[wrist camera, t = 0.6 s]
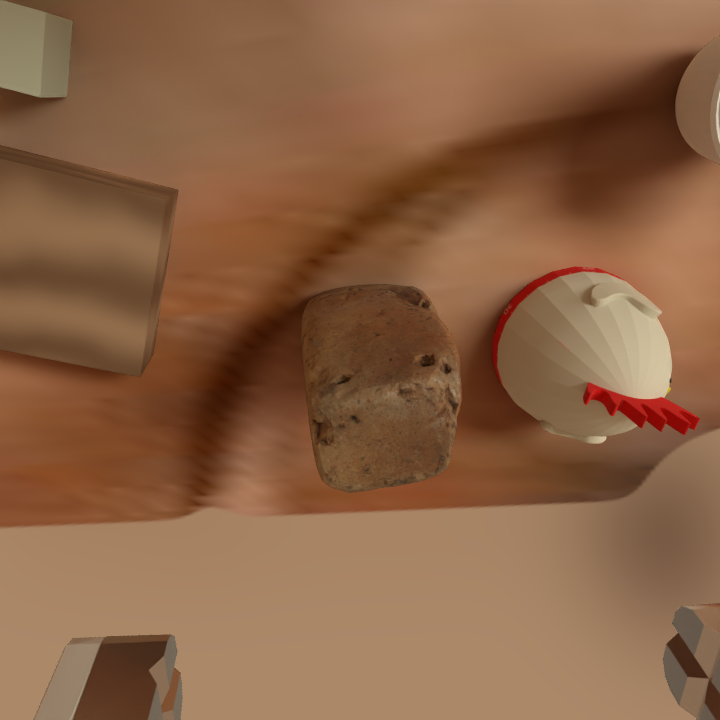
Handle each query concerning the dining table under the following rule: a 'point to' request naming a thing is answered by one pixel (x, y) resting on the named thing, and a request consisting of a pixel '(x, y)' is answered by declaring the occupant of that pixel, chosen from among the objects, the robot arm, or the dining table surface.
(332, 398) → the block
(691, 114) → the teacup
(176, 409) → the dining table surface
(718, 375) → the dining table surface
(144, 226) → the walnut base block
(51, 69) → the sage cube
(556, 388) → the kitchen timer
